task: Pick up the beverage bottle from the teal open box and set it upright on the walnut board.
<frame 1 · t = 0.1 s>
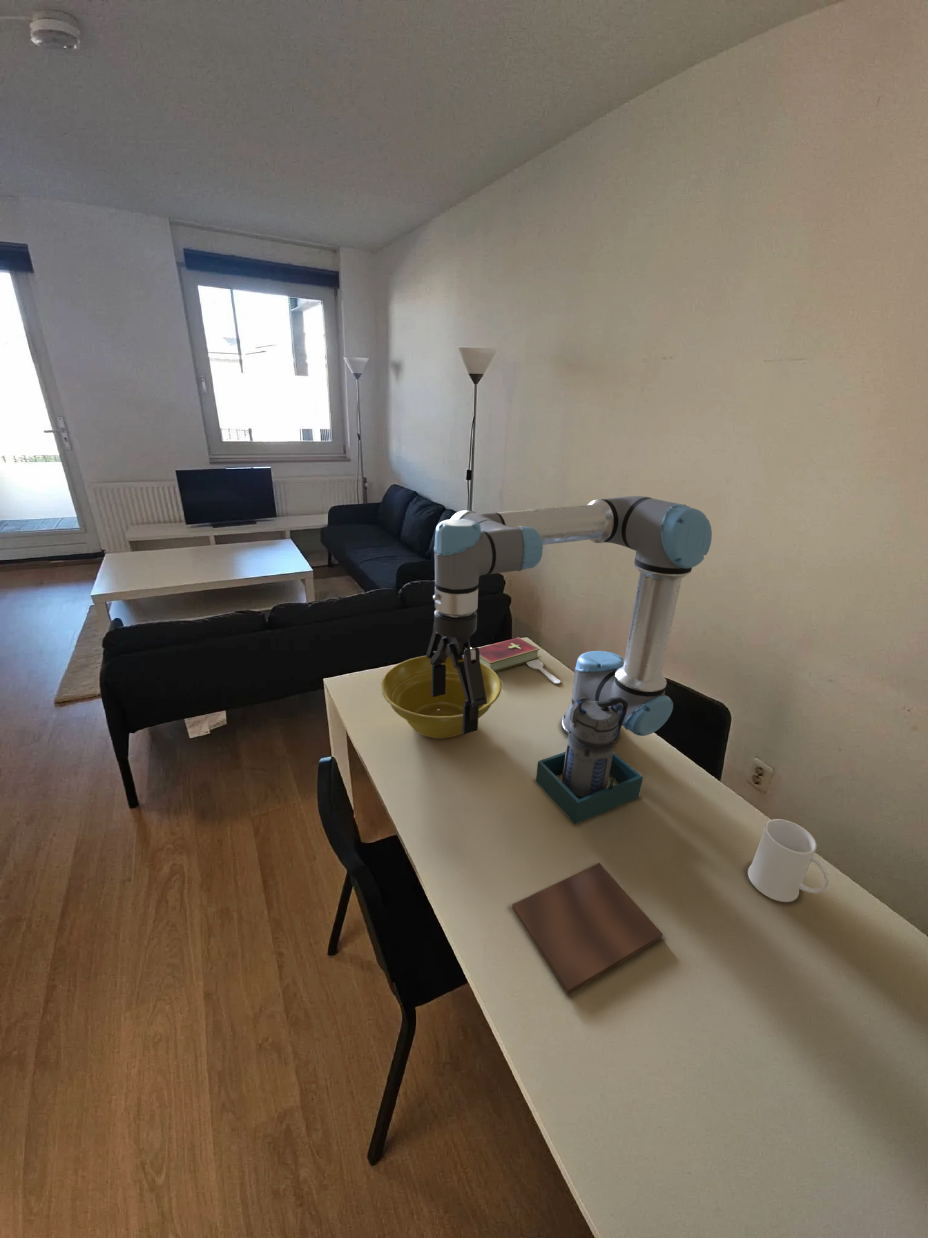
hand: (453, 712, 97), 28 cm above the table, tool pointing down, fingers open, 13 cm apart
spoon: (542, 671, 169), on the table, touching hardcover book
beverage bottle: (586, 790, 118), resting in teal open box
walnut board: (585, 923, 88), on the table
teal open box: (586, 789, 118), on the table
hardcover book: (504, 659, 176), on the table, touching spoon
mug: (780, 889, 95), on the table
planter bowl: (440, 724, 141), on the table
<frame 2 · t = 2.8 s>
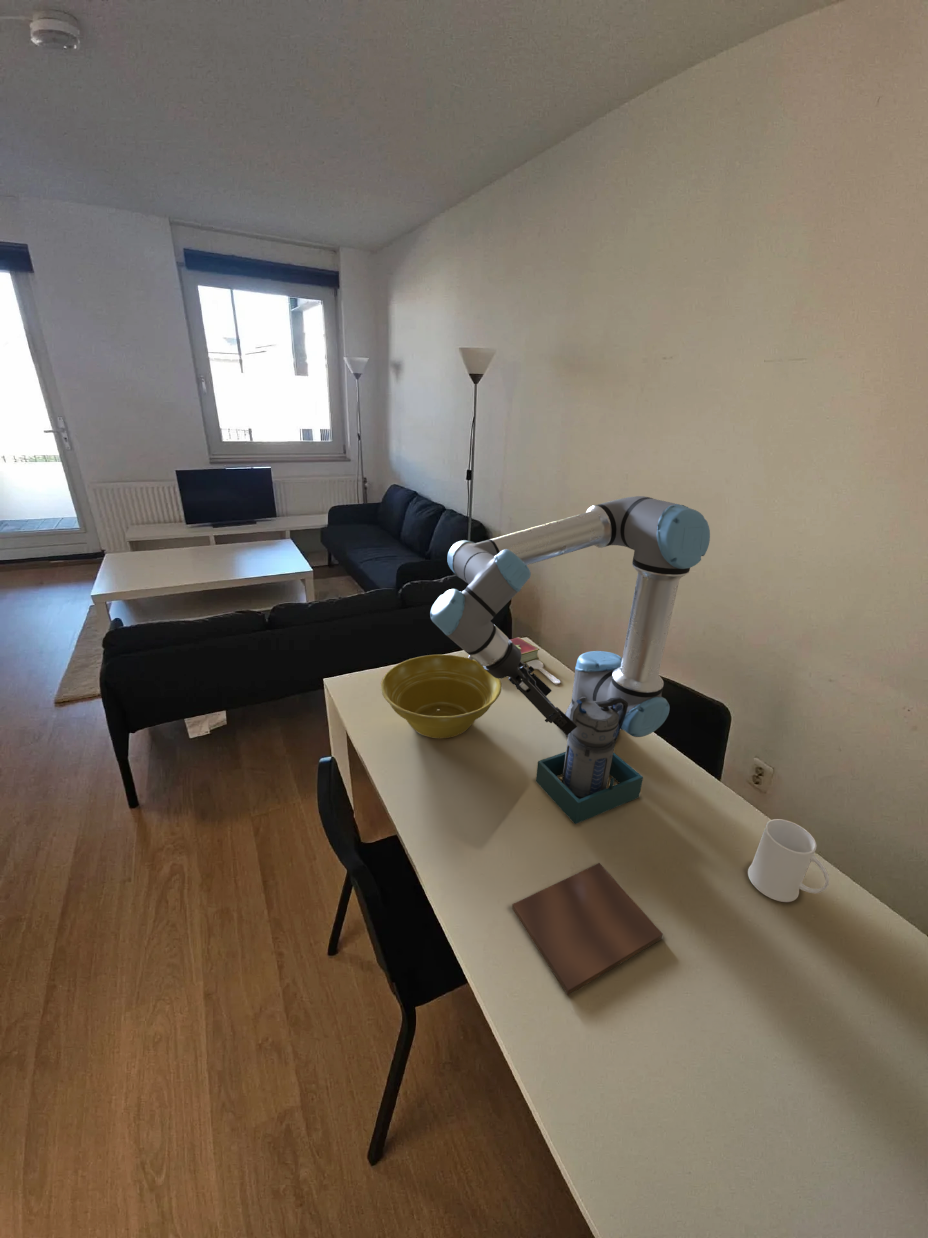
hand: (558, 711, 107), 23 cm above the table, tool tilted 45°, fingers open, 13 cm apart
nothing on the table moved.
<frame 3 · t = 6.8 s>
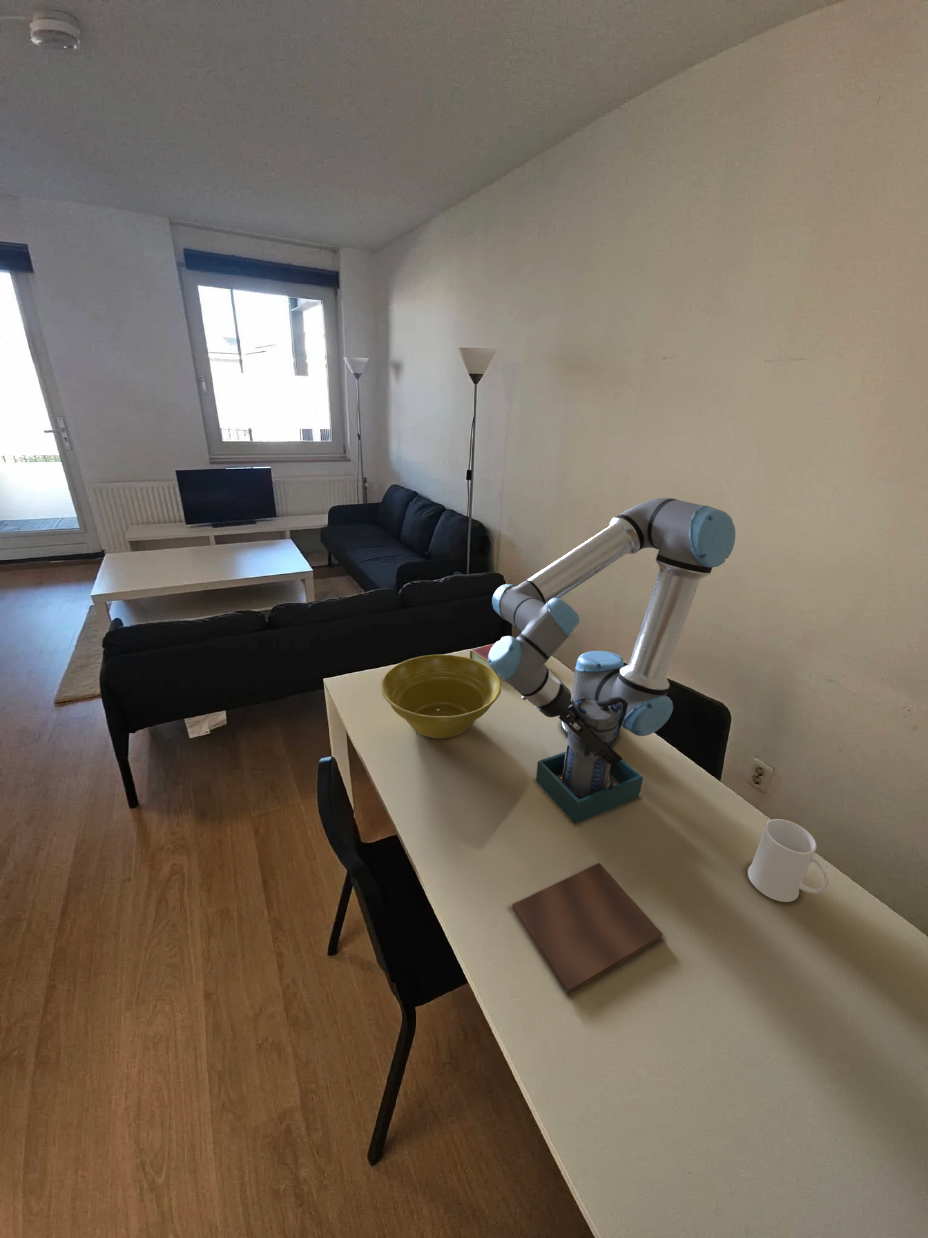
hand: (605, 746, 114), 12 cm above the table, tool tilted 45°, fingers closed on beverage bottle, 10 cm apart
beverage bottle: (586, 790, 118), resting in teal open box, touching gripper
everything else where it was.
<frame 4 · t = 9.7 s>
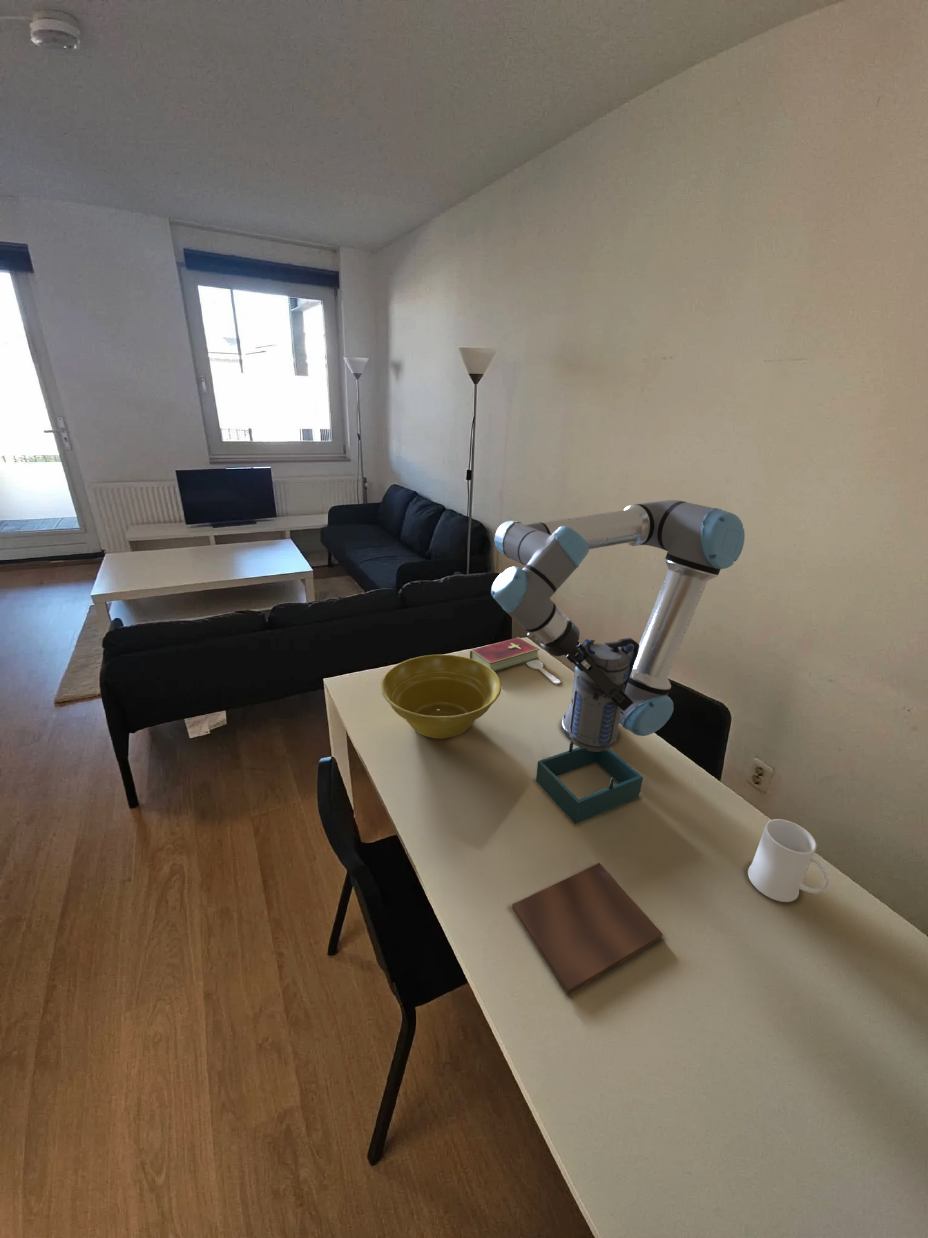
hand: (615, 692, 108), 26 cm above the table, tool tilted 45°, fingers closed on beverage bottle, 10 cm apart
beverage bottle: (594, 740, 112), point 14 cm above the table, touching gripper
everything else where it was.
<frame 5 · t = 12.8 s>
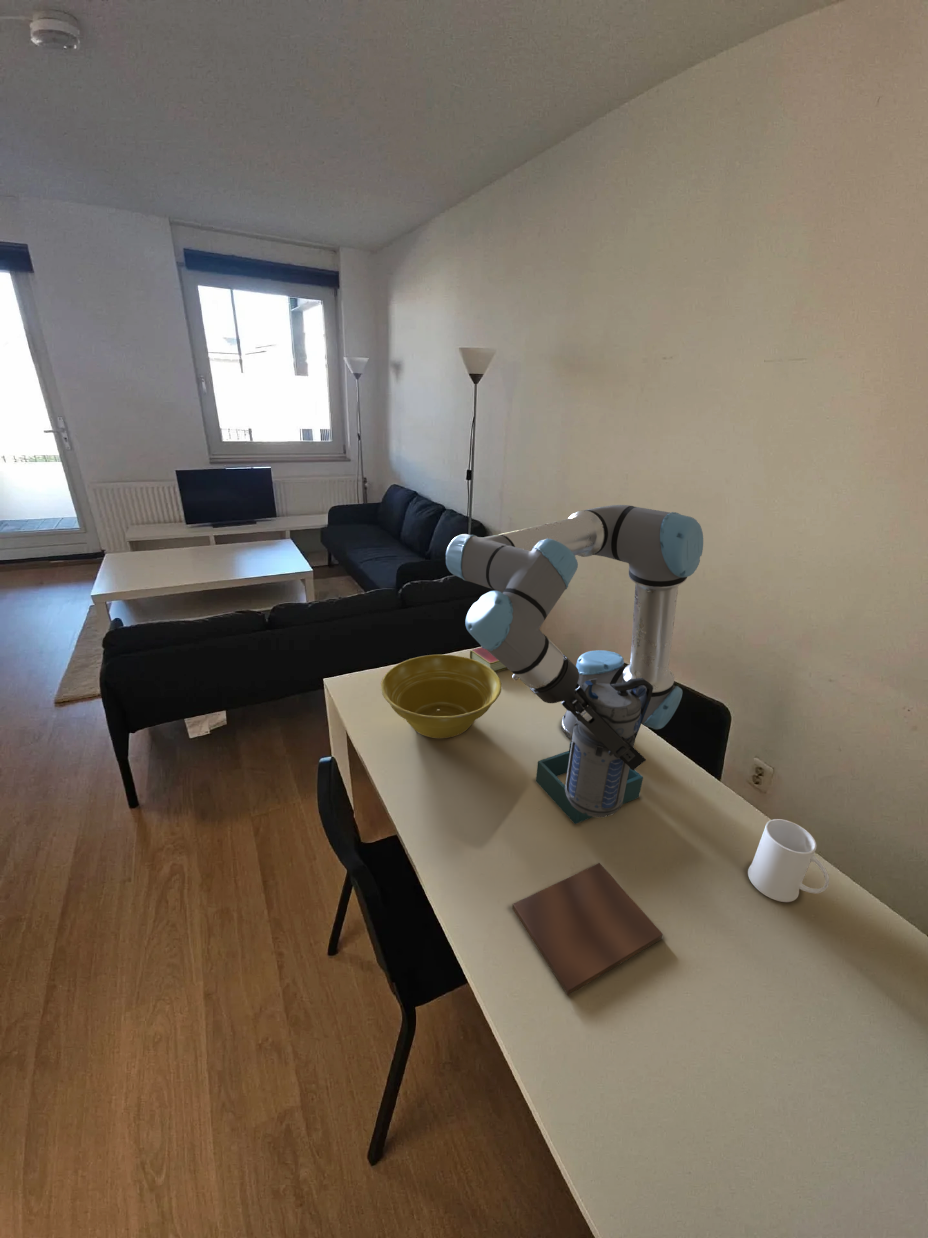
hand: (622, 743, 87), 29 cm above the table, tool tilted 45°, fingers closed on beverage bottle, 10 cm apart
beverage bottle: (596, 800, 92), point 17 cm above the table, touching gripper
everything else where it was.
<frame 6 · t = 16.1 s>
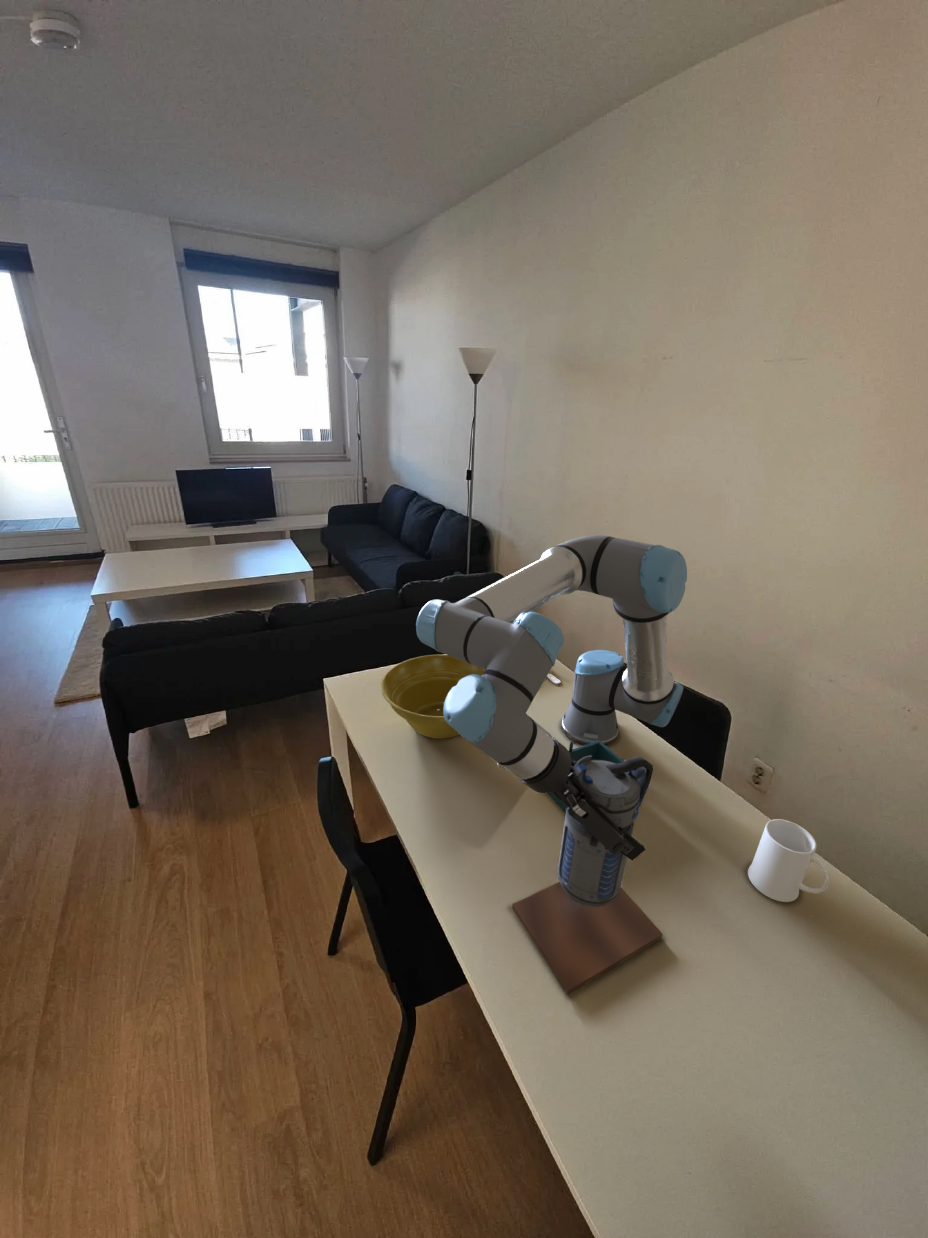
hand: (619, 825, 80), 22 cm above the table, tool tilted 45°, fingers closed on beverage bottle, 10 cm apart
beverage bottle: (591, 883, 84), point 10 cm above the table, touching gripper
everything else where it was.
when the fingers open (13 cm above the table, at t = 19.1 s): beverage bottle stays where it is, resting on walnut board.
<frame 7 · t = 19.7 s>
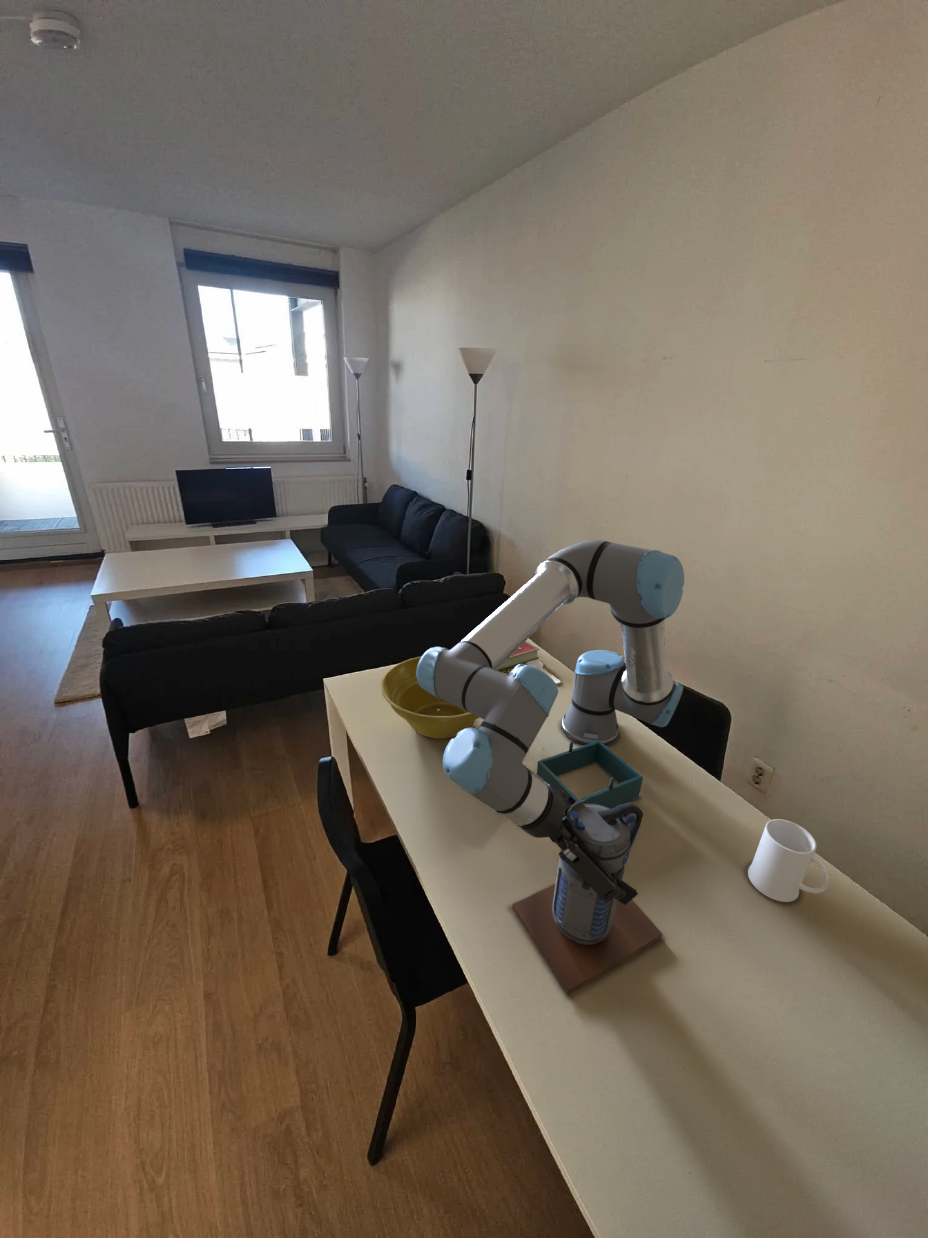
hand: (609, 860, 83), 15 cm above the table, tool tilted 45°, fingers open, 13 cm apart
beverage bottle: (585, 919, 87), point 1 cm above the table, touching walnut board
everything else where it was.
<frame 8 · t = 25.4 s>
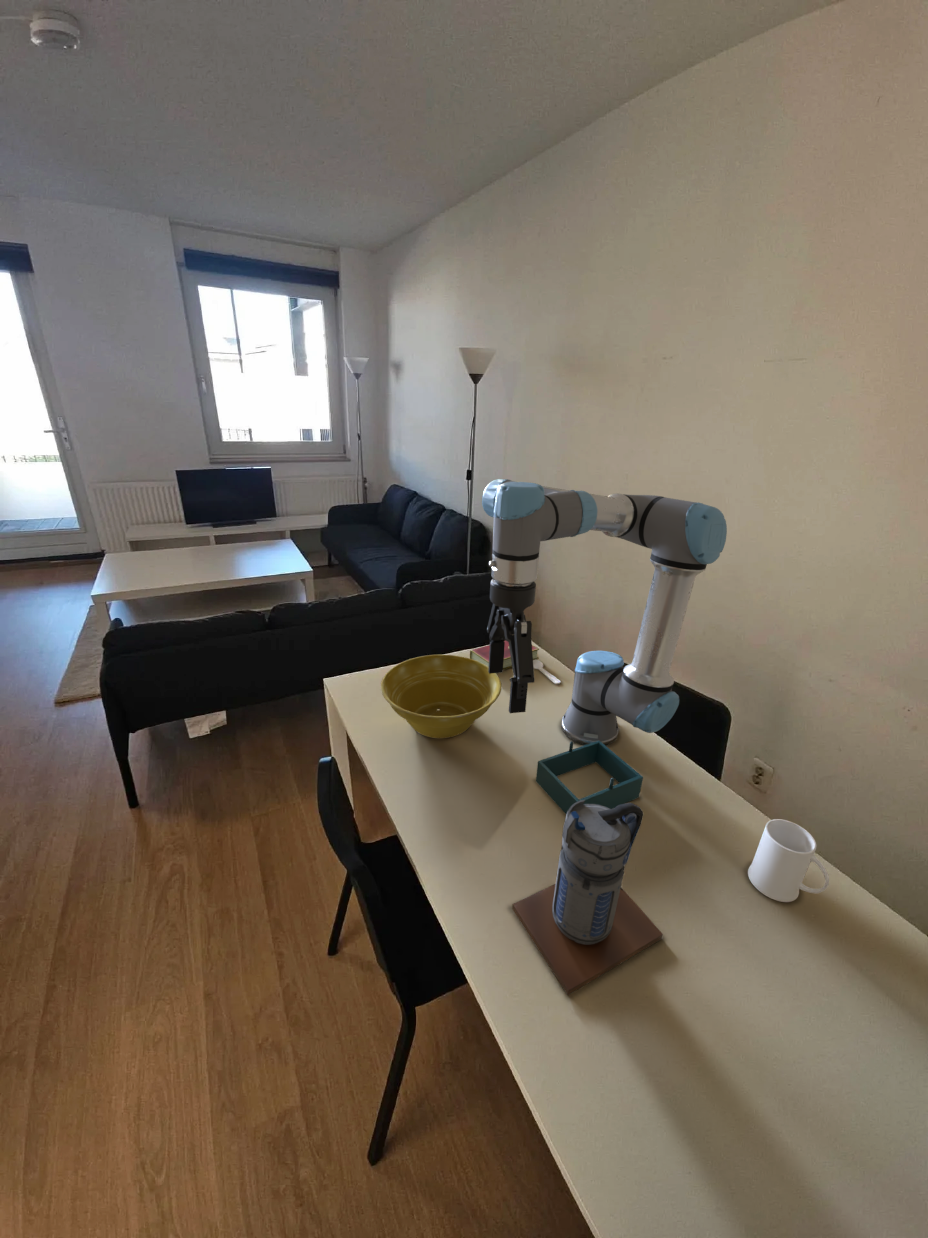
hand: (505, 690, 92), 35 cm above the table, tool pointing down, fingers open, 13 cm apart
nothing on the table moved.
at the end: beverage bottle inside the target area on the walnut board (0.1 cm from its centre), point 1.0 cm above the walnut board's base; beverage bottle tilted 0°; the gripper is holding nothing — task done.
